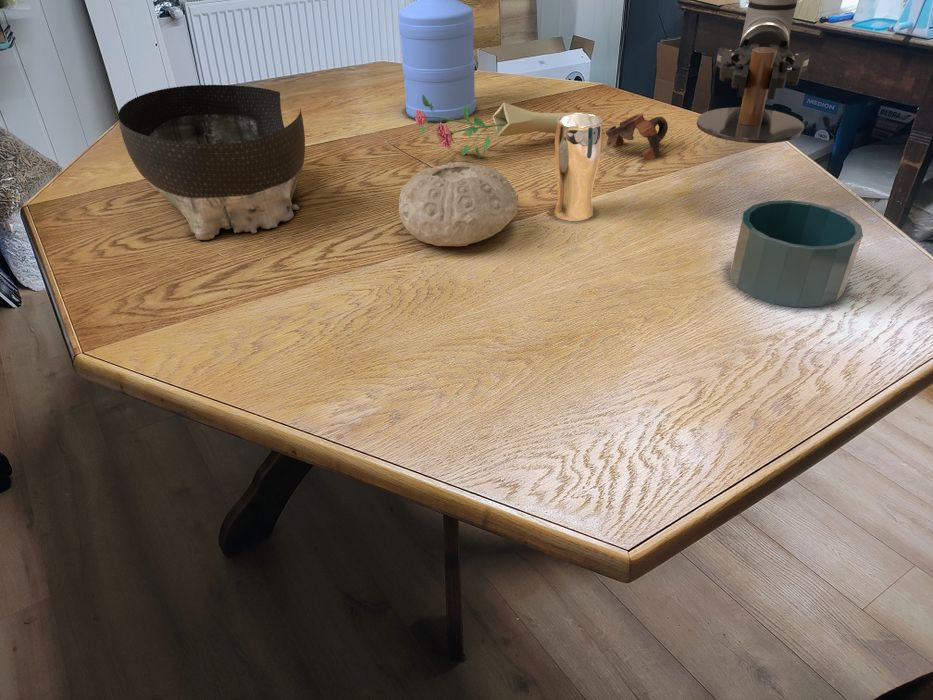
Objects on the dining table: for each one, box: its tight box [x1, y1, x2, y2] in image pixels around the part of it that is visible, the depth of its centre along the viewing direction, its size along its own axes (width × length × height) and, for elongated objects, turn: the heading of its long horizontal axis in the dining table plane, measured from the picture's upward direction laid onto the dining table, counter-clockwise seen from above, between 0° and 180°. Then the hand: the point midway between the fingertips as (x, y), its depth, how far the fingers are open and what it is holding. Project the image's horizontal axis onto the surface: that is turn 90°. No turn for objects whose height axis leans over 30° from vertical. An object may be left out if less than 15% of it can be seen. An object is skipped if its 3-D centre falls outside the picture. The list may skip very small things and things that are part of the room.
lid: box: [696, 47, 805, 144], centre depth 98 cm, size 15×15×11 cm
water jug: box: [398, 0, 477, 123], centre depth 145 cm, size 16×16×28 cm
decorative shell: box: [398, 161, 519, 247], centre depth 101 cm, size 18×18×10 cm
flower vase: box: [415, 95, 585, 159], centre depth 129 cm, size 12×12×35 cm
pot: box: [729, 199, 864, 309], centre depth 87 cm, size 14×14×8 cm
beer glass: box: [553, 112, 603, 222], centre depth 103 cm, size 7×7×15 cm
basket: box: [117, 84, 306, 241], centre depth 112 cm, size 28×35×16 cm
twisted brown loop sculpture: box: [605, 113, 669, 162], centre depth 127 cm, size 12×10×8 cm
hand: (757, 87), depth 92 cm, fingers closed on lid, 3 cm apart
